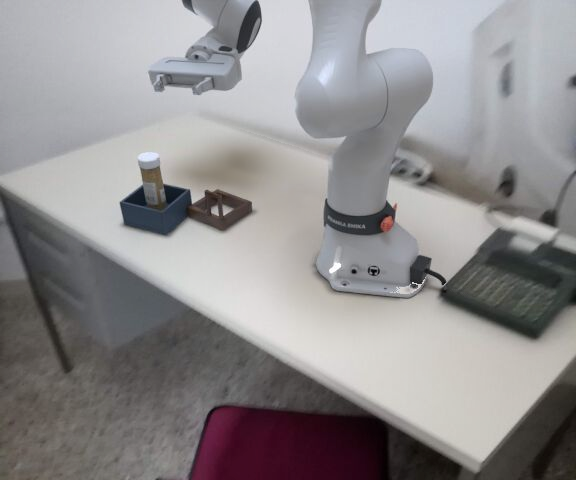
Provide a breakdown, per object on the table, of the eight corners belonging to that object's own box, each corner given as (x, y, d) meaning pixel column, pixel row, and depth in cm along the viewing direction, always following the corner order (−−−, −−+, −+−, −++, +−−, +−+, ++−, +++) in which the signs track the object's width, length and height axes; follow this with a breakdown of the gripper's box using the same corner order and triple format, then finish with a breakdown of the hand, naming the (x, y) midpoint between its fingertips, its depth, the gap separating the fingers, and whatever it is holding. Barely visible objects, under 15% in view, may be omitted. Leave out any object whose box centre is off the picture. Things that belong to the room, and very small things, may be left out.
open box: (193, 211, 137) (190, 189, 133) (166, 235, 130) (162, 212, 126) (152, 202, 141) (148, 179, 137) (124, 224, 133) (119, 202, 129)
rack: (252, 211, 137) (250, 178, 131) (223, 231, 131) (219, 197, 126) (218, 198, 141) (215, 166, 136) (188, 216, 136) (183, 183, 130)
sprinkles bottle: (172, 213, 135) (163, 155, 125) (156, 221, 132) (145, 162, 123) (160, 206, 137) (150, 149, 127) (144, 213, 135) (132, 155, 125)
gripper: (162, 45, 134) (130, 71, 126) (243, 49, 127) (214, 77, 119) (169, 75, 139) (138, 101, 131) (248, 80, 132) (220, 108, 124)
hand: (175, 90), depth 125 cm, fingers open, 8 cm apart
